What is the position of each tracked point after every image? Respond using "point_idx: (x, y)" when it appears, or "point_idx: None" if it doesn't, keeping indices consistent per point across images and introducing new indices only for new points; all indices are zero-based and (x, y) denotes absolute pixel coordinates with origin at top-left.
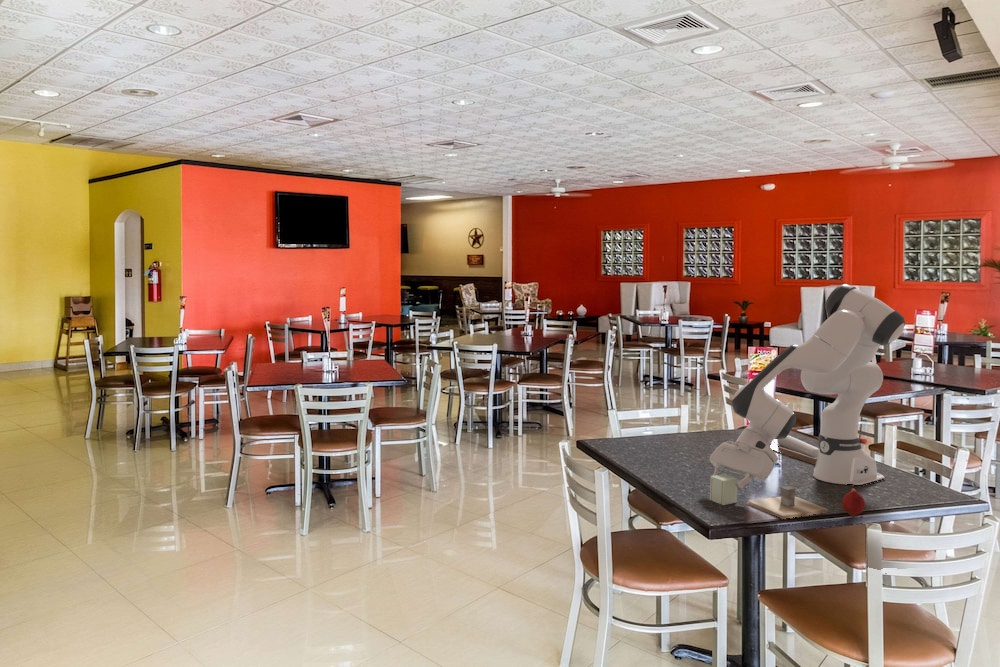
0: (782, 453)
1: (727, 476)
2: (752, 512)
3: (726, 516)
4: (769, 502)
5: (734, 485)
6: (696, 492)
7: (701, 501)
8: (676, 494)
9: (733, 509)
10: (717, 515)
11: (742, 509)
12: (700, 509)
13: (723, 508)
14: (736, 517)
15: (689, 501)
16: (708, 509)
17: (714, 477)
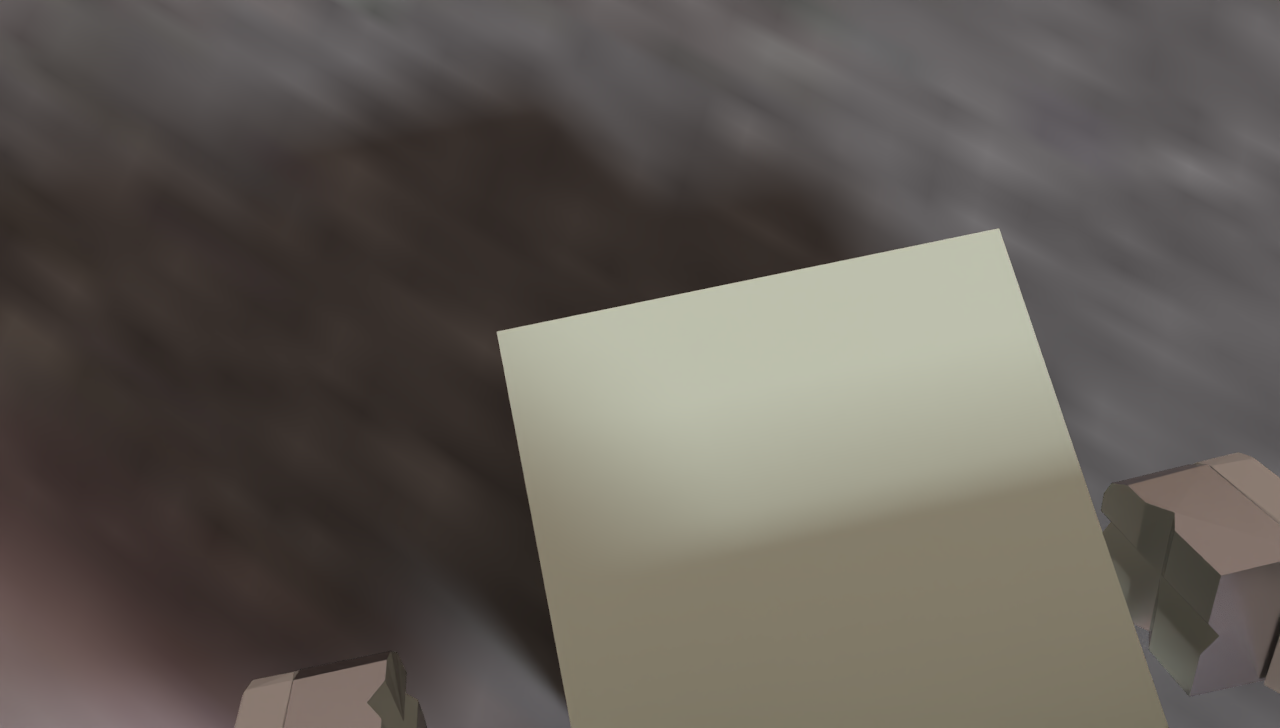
0: None
1: (880, 700)
2: (80, 707)
3: (100, 206)
4: None
5: None
6: (1258, 391)
7: (807, 227)
8: (1192, 57)
9: (322, 485)
10: (186, 114)
11: (269, 631)
12: (486, 34)
13: (417, 361)
14: (3, 316)
15: (846, 68)
16: (450, 132)
17: (862, 264)
